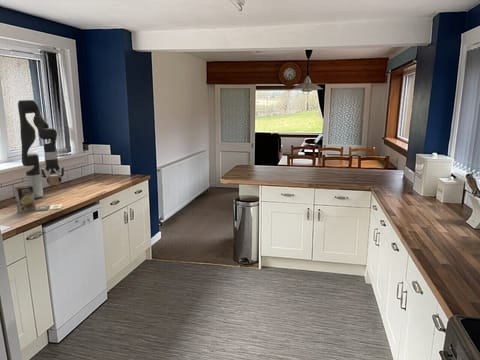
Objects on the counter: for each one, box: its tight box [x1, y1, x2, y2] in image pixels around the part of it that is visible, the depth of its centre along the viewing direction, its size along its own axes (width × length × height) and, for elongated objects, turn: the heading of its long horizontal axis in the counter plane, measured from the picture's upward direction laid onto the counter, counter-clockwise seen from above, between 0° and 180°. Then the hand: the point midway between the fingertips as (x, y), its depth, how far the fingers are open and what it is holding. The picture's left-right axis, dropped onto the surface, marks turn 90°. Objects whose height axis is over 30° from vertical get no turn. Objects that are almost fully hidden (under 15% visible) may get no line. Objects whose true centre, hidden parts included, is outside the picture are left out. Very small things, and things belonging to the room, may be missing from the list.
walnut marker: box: [48, 174, 61, 187], centre depth 241 cm, size 6×6×6 cm
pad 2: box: [48, 203, 64, 211], centre depth 241 cm, size 10×7×1 cm
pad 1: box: [34, 204, 51, 213], centre depth 238 cm, size 10×7×1 cm
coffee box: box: [14, 185, 37, 214], centre depth 234 cm, size 9×6×16 cm
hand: (54, 182), depth 241 cm, fingers closed on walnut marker, 6 cm apart
